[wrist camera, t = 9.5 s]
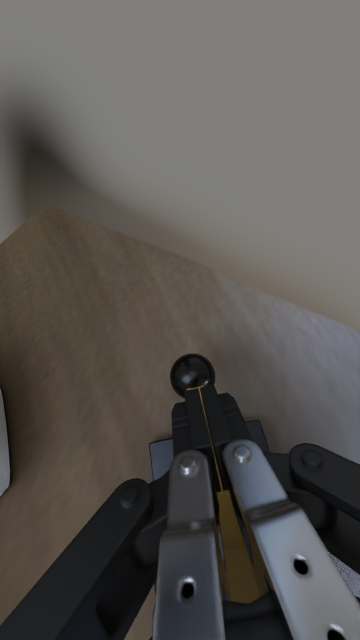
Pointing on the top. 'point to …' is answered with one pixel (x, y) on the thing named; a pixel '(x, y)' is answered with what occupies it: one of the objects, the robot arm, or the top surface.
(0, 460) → the photo printer
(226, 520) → the lever
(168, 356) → the top surface
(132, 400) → the top surface
